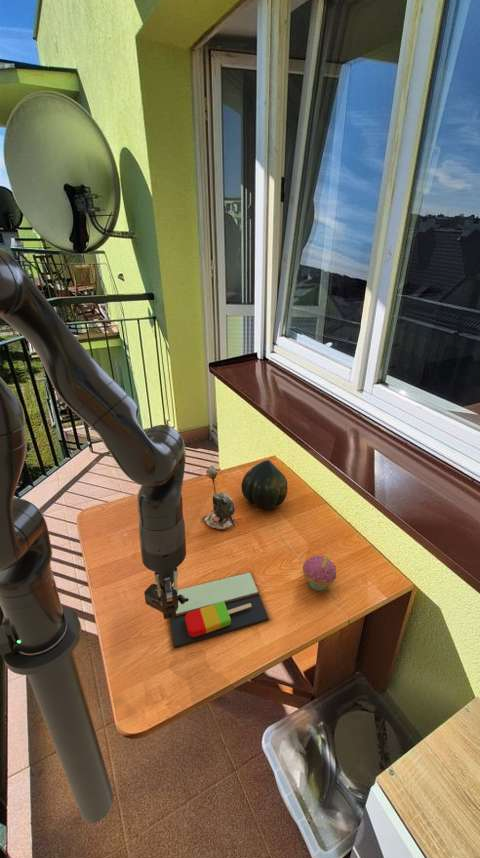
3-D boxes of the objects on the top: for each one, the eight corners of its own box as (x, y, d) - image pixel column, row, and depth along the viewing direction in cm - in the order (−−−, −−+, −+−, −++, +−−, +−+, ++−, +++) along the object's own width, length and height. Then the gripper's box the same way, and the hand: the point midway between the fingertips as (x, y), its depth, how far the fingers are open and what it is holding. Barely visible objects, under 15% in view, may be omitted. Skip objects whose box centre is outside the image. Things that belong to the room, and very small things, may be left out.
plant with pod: (219, 539, 108) (220, 481, 99) (199, 518, 115) (198, 462, 106) (243, 528, 113) (245, 472, 103) (222, 508, 120) (223, 454, 111)
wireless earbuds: (174, 620, 71) (173, 608, 69) (144, 604, 73) (142, 593, 72) (189, 601, 74) (188, 590, 73) (160, 587, 77) (159, 575, 75)
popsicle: (183, 618, 84) (183, 612, 83) (247, 598, 90) (247, 592, 90) (189, 640, 80) (189, 634, 79) (255, 617, 86) (255, 611, 85)
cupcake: (340, 589, 96) (348, 554, 90) (312, 602, 92) (319, 566, 86) (321, 565, 102) (327, 532, 97) (294, 576, 98) (299, 542, 93)
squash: (254, 510, 112) (281, 467, 113) (225, 488, 122) (251, 448, 123) (279, 521, 123) (304, 482, 124) (251, 500, 132) (274, 464, 134)
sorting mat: (174, 648, 79) (174, 645, 78) (166, 594, 90) (165, 591, 90) (268, 619, 86) (268, 617, 86) (250, 573, 98) (250, 571, 97)
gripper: (137, 514, 70) (145, 579, 78) (142, 573, 58) (150, 643, 66) (179, 508, 72) (182, 571, 80) (191, 563, 61) (194, 631, 68)
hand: (168, 603), depth 73 cm, fingers closed on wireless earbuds, 5 cm apart
